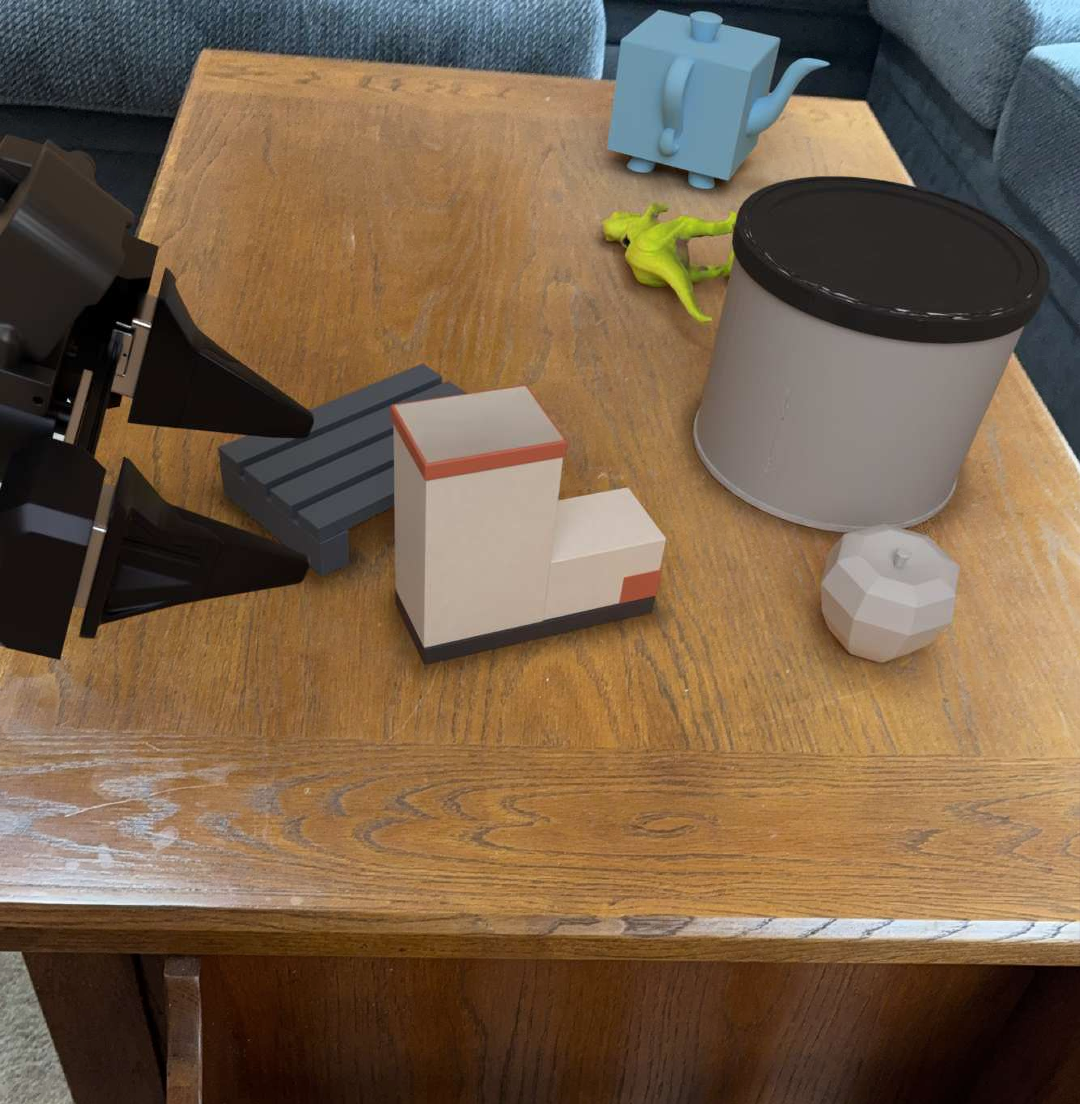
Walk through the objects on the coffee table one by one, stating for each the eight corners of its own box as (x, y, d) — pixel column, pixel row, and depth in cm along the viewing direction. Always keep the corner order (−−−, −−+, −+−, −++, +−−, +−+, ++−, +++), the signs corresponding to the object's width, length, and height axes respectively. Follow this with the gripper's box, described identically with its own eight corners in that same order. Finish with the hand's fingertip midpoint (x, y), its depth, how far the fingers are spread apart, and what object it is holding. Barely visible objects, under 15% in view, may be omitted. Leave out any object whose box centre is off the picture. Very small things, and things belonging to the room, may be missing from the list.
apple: (787, 591, 67) (817, 503, 62) (912, 595, 68) (951, 509, 63) (816, 686, 62) (851, 599, 57) (951, 690, 63) (997, 603, 58)
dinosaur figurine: (800, 325, 89) (821, 250, 85) (698, 349, 85) (714, 272, 81) (664, 220, 100) (676, 148, 96) (568, 236, 96) (575, 163, 92)
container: (667, 495, 72) (714, 274, 61) (713, 356, 85) (759, 152, 74) (955, 564, 70) (1058, 348, 59) (959, 411, 83) (1045, 209, 72)
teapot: (595, 176, 105) (614, 22, 96) (647, 124, 115) (669, -20, 106) (776, 224, 102) (815, 69, 92) (814, 166, 112) (852, 22, 102)
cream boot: (422, 665, 60) (425, 465, 50) (393, 604, 63) (390, 404, 54) (653, 612, 65) (696, 419, 55) (615, 557, 68) (650, 365, 58)
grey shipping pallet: (323, 577, 64) (319, 529, 62) (223, 494, 68) (216, 446, 66) (520, 476, 72) (525, 431, 70) (421, 408, 77) (421, 362, 74)
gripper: (-241, 275, 26) (388, 478, 32) (-54, 15, 38) (376, 199, 44) (-238, 606, 33) (277, 719, 39) (-81, 297, 45) (293, 422, 52)
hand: (309, 493), depth 43 cm, fingers open, 9 cm apart
